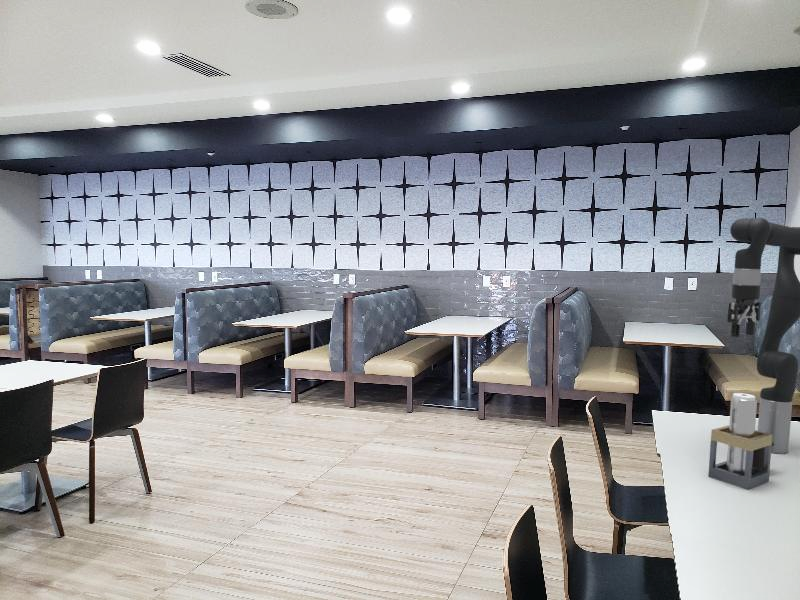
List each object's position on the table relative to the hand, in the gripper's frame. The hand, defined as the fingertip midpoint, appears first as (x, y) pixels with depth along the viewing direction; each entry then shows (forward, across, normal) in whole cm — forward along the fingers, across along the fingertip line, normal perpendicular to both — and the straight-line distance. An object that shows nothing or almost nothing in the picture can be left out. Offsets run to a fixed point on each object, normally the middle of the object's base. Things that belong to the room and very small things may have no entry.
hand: (742, 335), depth 190 cm
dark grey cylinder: (+40, +2, +8) cm, 41 cm away
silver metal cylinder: (+40, +14, +9) cm, 44 cm away
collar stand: (+40, +14, +9) cm, 43 cm away
